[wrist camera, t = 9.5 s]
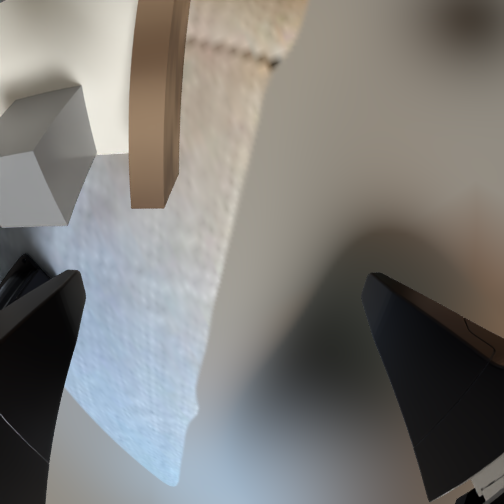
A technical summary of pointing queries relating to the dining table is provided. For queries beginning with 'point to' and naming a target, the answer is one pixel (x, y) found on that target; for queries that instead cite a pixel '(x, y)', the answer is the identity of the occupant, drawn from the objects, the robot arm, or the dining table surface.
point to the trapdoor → (72, 58)
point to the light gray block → (44, 158)
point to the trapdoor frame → (156, 100)
